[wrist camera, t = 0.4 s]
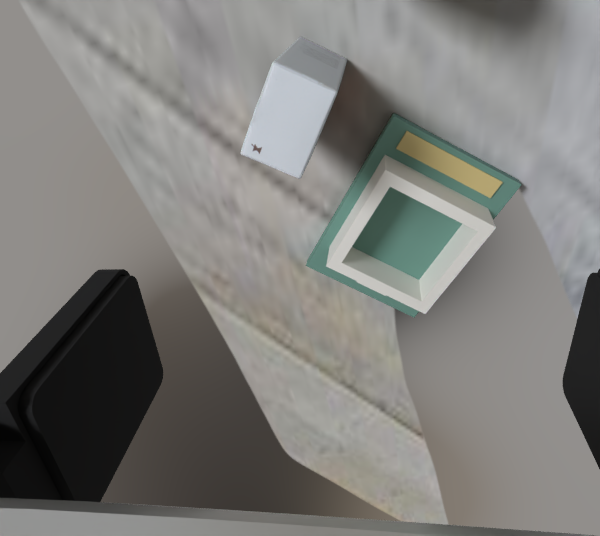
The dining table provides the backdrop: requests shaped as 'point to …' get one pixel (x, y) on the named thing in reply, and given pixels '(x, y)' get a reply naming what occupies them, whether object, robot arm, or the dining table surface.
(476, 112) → the dining table surface
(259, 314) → the dining table surface
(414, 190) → the board
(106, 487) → the robot arm
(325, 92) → the skincare box
